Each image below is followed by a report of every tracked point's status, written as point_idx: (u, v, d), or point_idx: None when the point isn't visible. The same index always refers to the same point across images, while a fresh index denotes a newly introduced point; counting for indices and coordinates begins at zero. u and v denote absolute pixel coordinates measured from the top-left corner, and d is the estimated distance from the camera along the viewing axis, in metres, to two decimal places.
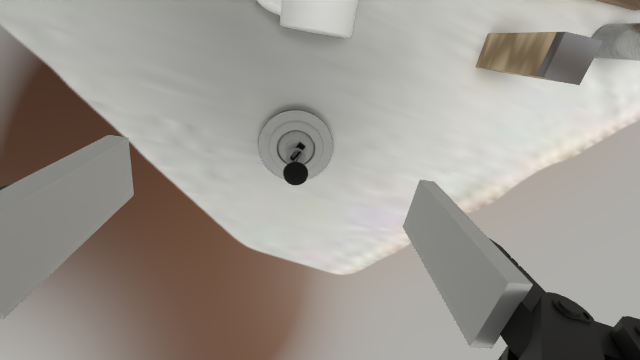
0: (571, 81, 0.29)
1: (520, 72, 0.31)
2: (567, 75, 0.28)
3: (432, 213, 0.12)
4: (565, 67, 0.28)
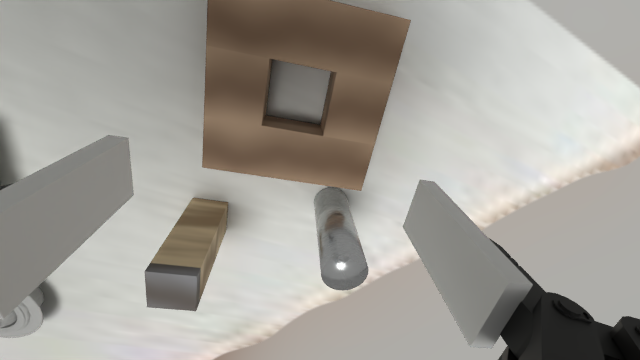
0: (183, 308, 0.25)
1: None
2: (174, 304, 0.25)
3: (432, 213, 0.12)
4: (167, 298, 0.25)
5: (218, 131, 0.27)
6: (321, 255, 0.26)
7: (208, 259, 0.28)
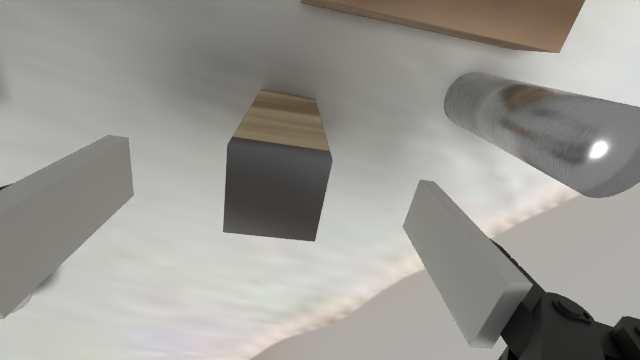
0: (292, 236, 0.13)
1: None
2: (276, 226, 0.13)
3: (432, 213, 0.12)
4: (265, 212, 0.12)
5: None
6: (554, 131, 0.13)
7: None
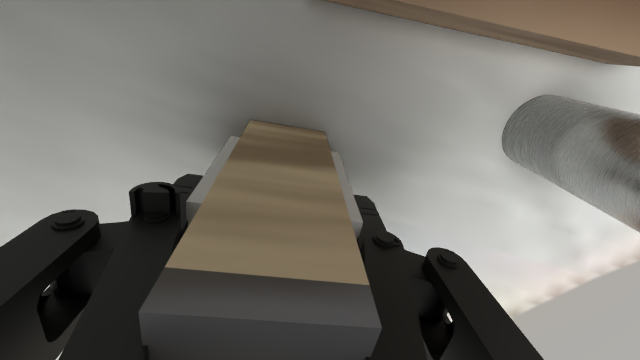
0: None
1: None
2: None
3: None
4: None
5: None
6: None
7: None
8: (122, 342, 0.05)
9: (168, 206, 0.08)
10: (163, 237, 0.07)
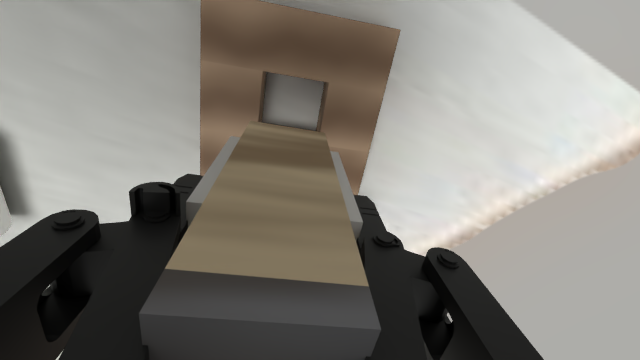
0: None
1: None
2: None
3: None
4: None
5: (215, 142, 0.27)
6: None
7: None
8: (122, 342, 0.05)
9: (168, 206, 0.08)
10: (163, 237, 0.07)
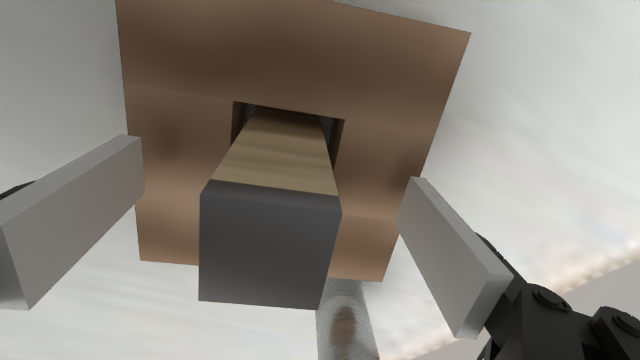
0: (289, 305, 0.10)
1: None
2: (268, 293, 0.10)
3: (422, 208, 0.13)
4: (253, 277, 0.09)
5: (160, 211, 0.17)
6: None
7: None
8: None
9: None
10: None
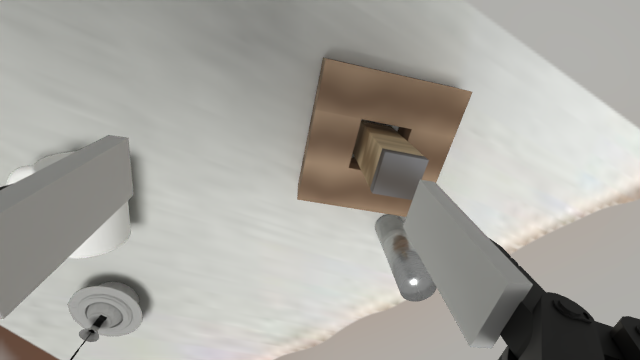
0: (404, 197, 0.27)
1: (365, 177, 0.29)
2: (397, 191, 0.27)
3: (432, 213, 0.12)
4: (393, 184, 0.26)
5: (314, 172, 0.34)
6: (397, 273, 0.32)
7: None
8: None
9: None
10: None
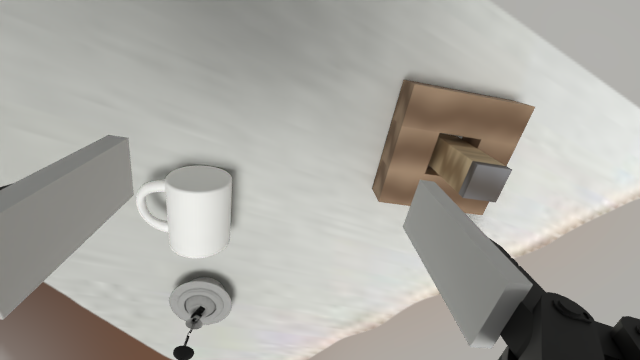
0: (488, 200, 0.32)
1: (449, 183, 0.35)
2: (483, 195, 0.32)
3: (432, 213, 0.12)
4: (481, 190, 0.32)
5: (395, 178, 0.40)
6: None
7: None
8: None
9: None
10: None
